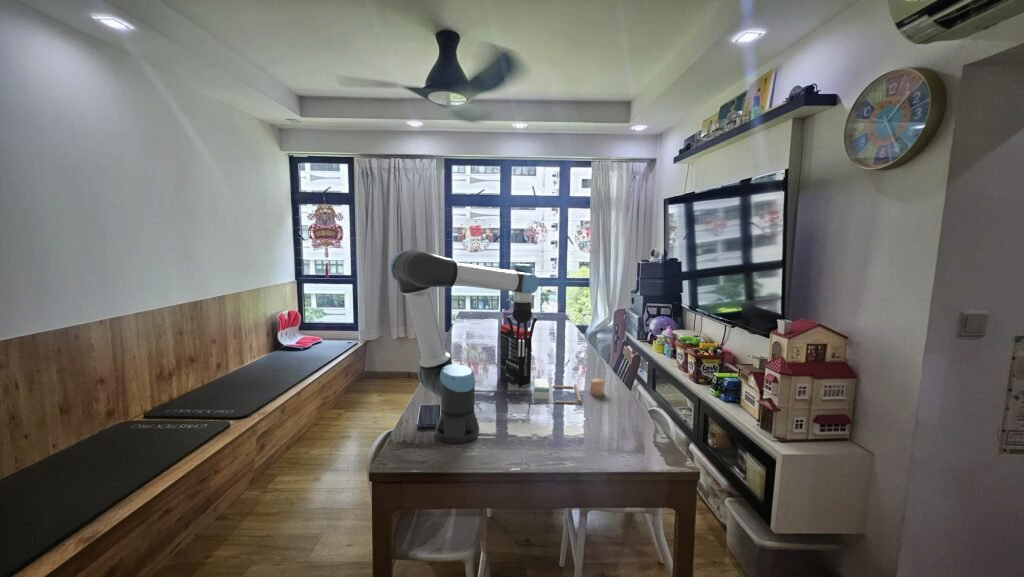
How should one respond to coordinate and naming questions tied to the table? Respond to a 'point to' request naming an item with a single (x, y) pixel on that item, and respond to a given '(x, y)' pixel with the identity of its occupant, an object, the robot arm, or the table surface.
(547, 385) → the carton
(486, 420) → the table surface
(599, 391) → the wooden block
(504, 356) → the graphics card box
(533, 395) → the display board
